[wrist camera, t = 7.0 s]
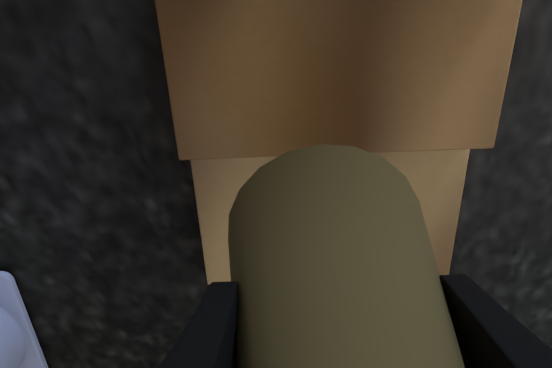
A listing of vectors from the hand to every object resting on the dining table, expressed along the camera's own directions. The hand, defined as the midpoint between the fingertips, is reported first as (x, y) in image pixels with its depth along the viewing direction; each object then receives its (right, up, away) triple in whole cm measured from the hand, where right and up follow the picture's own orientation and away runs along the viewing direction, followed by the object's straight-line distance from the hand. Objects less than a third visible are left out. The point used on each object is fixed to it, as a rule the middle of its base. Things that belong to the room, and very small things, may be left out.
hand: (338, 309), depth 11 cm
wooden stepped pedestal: (+1, +6, +9) cm, 10 cm away
